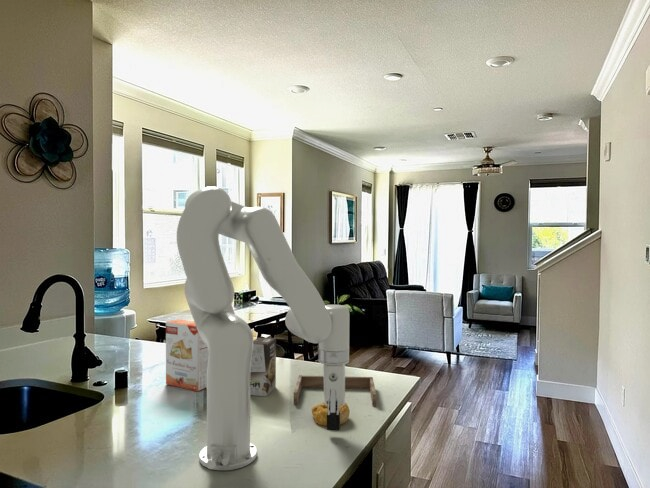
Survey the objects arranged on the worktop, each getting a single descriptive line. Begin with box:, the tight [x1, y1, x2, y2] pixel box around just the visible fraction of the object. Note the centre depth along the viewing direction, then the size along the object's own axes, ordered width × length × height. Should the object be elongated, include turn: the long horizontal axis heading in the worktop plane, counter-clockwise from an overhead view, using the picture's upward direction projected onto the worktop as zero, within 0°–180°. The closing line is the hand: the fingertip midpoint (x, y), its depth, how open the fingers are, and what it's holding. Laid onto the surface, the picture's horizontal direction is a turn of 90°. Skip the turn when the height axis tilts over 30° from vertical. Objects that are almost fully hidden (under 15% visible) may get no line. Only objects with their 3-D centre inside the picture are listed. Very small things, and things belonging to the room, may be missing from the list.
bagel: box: [311, 401, 350, 427], centre depth 125 cm, size 10×11×5 cm
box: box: [293, 374, 377, 407], centre depth 143 cm, size 16×24×4 cm, turn 88°
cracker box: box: [165, 318, 209, 392], centre depth 150 cm, size 14×6×21 cm, turn 62°
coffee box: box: [250, 337, 277, 397], centre depth 146 cm, size 9×6×16 cm
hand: (333, 428), depth 115 cm, fingers closed
